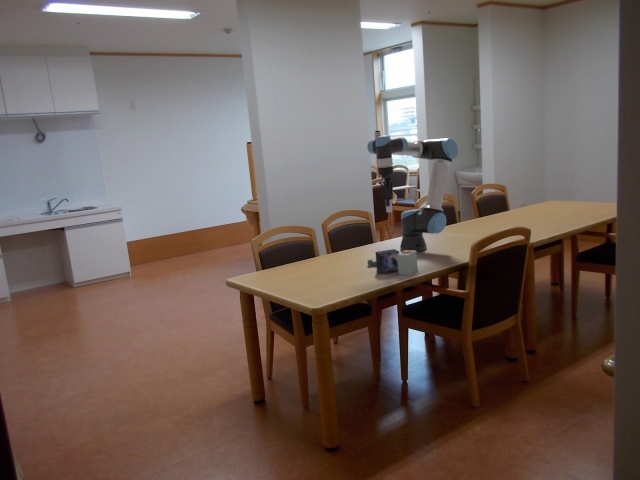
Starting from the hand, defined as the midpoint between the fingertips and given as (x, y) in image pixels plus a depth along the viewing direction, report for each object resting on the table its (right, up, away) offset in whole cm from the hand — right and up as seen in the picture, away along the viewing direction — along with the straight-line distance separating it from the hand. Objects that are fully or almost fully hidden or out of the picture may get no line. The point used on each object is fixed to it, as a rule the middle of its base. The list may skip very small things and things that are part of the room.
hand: (389, 212), depth 282 cm
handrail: (0, -28, +1) cm, 28 cm away
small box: (-2, -31, -9) cm, 32 cm away
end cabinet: (+7, -30, -15) cm, 34 cm away
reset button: (+7, -25, -16) cm, 30 cm away
